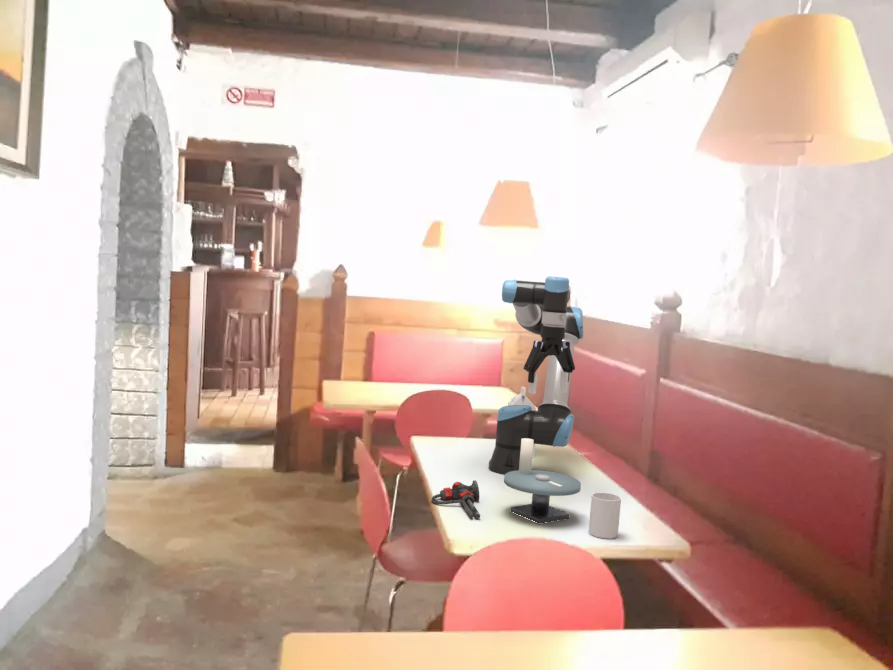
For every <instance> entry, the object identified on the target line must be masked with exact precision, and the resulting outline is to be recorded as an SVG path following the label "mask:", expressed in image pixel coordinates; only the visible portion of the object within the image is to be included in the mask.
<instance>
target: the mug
mask: <svg viewBox="0 0 893 670" xmlns="http://www.w3.org/2000/svg"><path fill="white" fill-rule="evenodd" d="M621 502H622V497H621V496H619V495H617V494H614V493H609V492H600V491H595V492H594V493H592V494H591V501H590V509H589V510H590V512H589V521H588V533H589V534H590V535H591V536H593V537H596V538H600V539H608V540H609V539H610V540H611V539H617V538H618V535H619V526H620V516H621V504H622V503H621Z"/></svg>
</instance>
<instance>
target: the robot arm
mask: <svg viewBox="0 0 893 670" xmlns="http://www.w3.org/2000/svg"><path fill="white" fill-rule="evenodd" d="M544 281H545V282H543V281H541V282H540V281H530V280H529V281H527V280H517V279H509V280H508V279H507V280H505V281H503V283H502V288H501V301H503V302H504V303H506V304H507V303H508V304H512V306H513V308H514V310H515V313H514V314H515V315H514V316H515V320H516V321H517V324H518V325H520V327H521V328H523V329H524V330H526V331H528V332H530V333H532V334H533V335H534V334H535V335H539V336H540V337H541V340H534V341H533V344H532V347H531V351H530V353H529V354H528V356H527V359H526V361H525V363H524V366H523V370H525V371H526V372H527V373H528V374H527V375H528V376H527V383H528V390H527V393H528V394H533V395H536V394H537V385H538V372H537V370H538V369H539V367H541V365H542V363H543V362H544V361H545V359H546V358H547V357H548V363H547V368H546V369H547V370H546V377H545V385H544V393H543V394H544V395H543V400H542V401H543V402H542V403H540V404H539V405H538V407H537V410H536V411H533V410H532V408H531V406H529V405H509V406H508V405H504V406H501V407H500V408H499V409H498V412H497V418H496V430H495V431H496V432H495V433H496V434H495V446H494V449H493V451H492V454H491V458H490V459H489V461H488V470H490V471H491V472H493V473H494V472H495V473H497V474H502V475H505V474H506V473H508V472H511V471H517V470H519V463H520V451H521V439H522V438H529V439H533V440H534V442H533V444H535V445H542V446H550V447H558V448H559V447H563V448H564V447H566V446H568V445H569V442H570V439H571V436H572V433H573V428H574V423H575V415H574V414H572V413H571V411H572V410H571V408H570V407H569V406H568V401H569V394H570V393H569V392H570V384H571V375H572V373H573V371H575V369H576V366H575V363H574V359H573V357H574V349H575V346H577V345H578V343H579V342H580V341H579V340H581V339H583V338H584V320H583V319H584V316H583V310H582V309H581V308H580V307H575V306H571V305H570V306H568V304H569V302H570V299H571V290H570V280H569V278H568V277H563V276H562V277H561V276H546V277H545V279H544Z"/></svg>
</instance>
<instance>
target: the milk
mask: <svg viewBox="0 0 893 670" xmlns="http://www.w3.org/2000/svg"><path fill="white" fill-rule="evenodd" d="M526 393H527V388H526V386H520V392H519V394H514V396H513V397H511V399H510V401H509V402H508V403H507V406H509V405H529V406H531V408H532V410H533V411H537V408H536V406H535V405H534V403H533V402H532V401H531V400H530V398H529V397H527V395H526ZM535 446H536V444H533V454H532V458H535V453H536V451H535V450H536V447H535Z"/></svg>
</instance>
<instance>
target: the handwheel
mask: <svg viewBox="0 0 893 670" xmlns="http://www.w3.org/2000/svg"><path fill="white" fill-rule="evenodd" d="M533 442H534V440H533V439H529V438H522V439H521V451H520V463H519V470H517V471H511V472H508V473H506V474H503V475H504V476H503V483H504V484H505V485H506V486H507V487H509V488H510V489H513V490H515V491H519V492H523V493H526V494H537V495H547V496H550V497H551V496H552V497H564V496H572V495H576V494H578V493H580V492H581V489H582V488H581V487H582V483H581V481H580V480H579V479H578V478H576V477H573V476H570V475H567V474H563V473H559V472H554V471H547V470H539V469H538V470H537V469H532V464H533V463H532V462H533V457H532V454H533Z"/></svg>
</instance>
